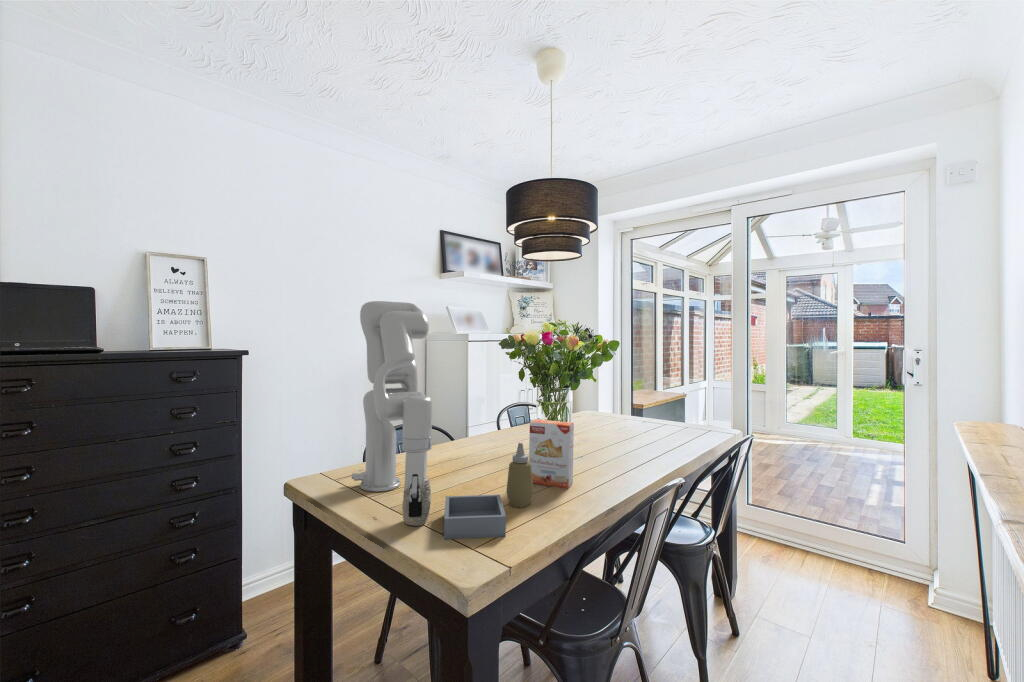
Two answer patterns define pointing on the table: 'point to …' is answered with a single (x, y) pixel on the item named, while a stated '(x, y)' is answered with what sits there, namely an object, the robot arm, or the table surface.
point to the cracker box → (551, 452)
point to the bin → (474, 517)
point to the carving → (425, 505)
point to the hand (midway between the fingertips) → (416, 510)
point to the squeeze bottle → (520, 479)
